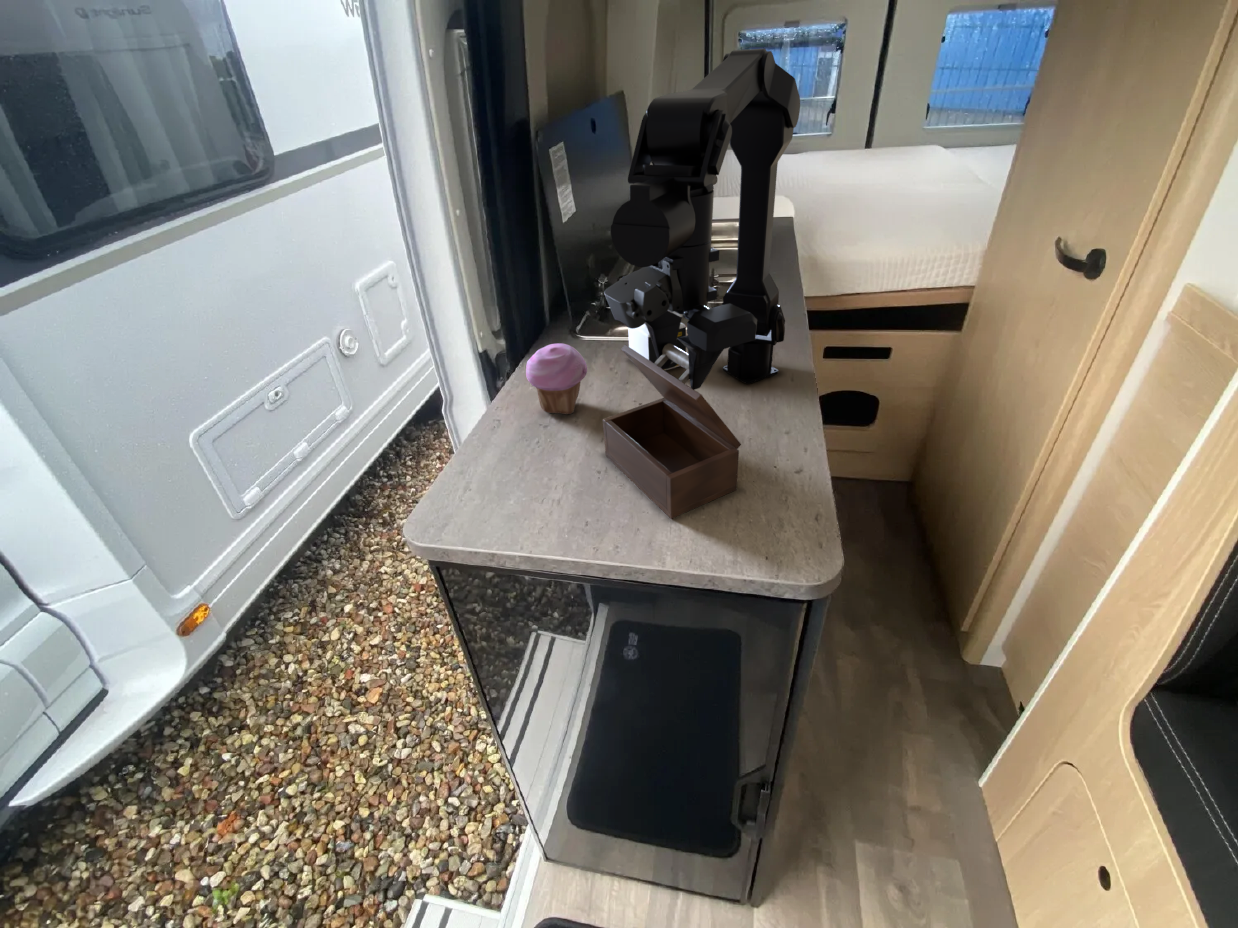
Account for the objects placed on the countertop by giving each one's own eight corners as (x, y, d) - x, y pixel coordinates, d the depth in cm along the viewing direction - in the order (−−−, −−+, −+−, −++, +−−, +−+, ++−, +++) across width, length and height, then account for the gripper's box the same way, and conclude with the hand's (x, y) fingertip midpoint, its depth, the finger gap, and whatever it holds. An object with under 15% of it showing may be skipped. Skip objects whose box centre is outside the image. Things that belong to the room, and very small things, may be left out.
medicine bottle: (649, 376, 99) (647, 305, 92) (629, 360, 105) (625, 292, 98) (686, 365, 102) (686, 295, 95) (664, 350, 107) (663, 283, 100)
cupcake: (524, 420, 90) (513, 359, 84) (543, 392, 97) (534, 333, 91) (582, 424, 88) (575, 362, 83) (597, 395, 95) (591, 335, 89)
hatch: (696, 400, 63) (723, 370, 63) (620, 349, 74) (643, 323, 74) (737, 449, 70) (761, 423, 70) (662, 396, 81) (683, 373, 81)
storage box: (671, 519, 70) (670, 478, 67) (605, 456, 81) (602, 418, 78) (736, 489, 74) (739, 450, 70) (665, 433, 85) (664, 397, 82)
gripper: (572, 233, 66) (582, 365, 74) (667, 277, 52) (665, 432, 61) (659, 218, 70) (658, 345, 79) (767, 255, 56) (752, 403, 65)
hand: (679, 377), depth 71 cm, fingers closed on hatch, 6 cm apart
